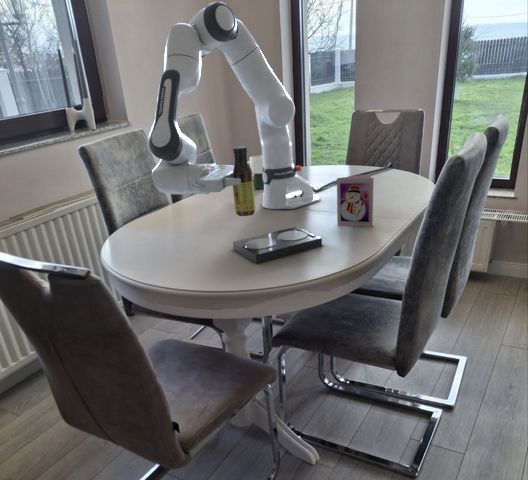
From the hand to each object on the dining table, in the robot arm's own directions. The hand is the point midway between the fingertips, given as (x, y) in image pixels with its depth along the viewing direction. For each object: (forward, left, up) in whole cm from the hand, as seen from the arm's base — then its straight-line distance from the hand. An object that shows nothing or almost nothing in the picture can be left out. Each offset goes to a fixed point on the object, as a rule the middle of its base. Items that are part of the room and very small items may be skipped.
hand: (245, 178), depth 152 cm
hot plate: (-2, +13, -19) cm, 23 cm away
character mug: (-36, -62, -19) cm, 74 cm away
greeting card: (-34, +10, -19) cm, 40 cm away
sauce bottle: (+1, -1, -11) cm, 11 cm away
